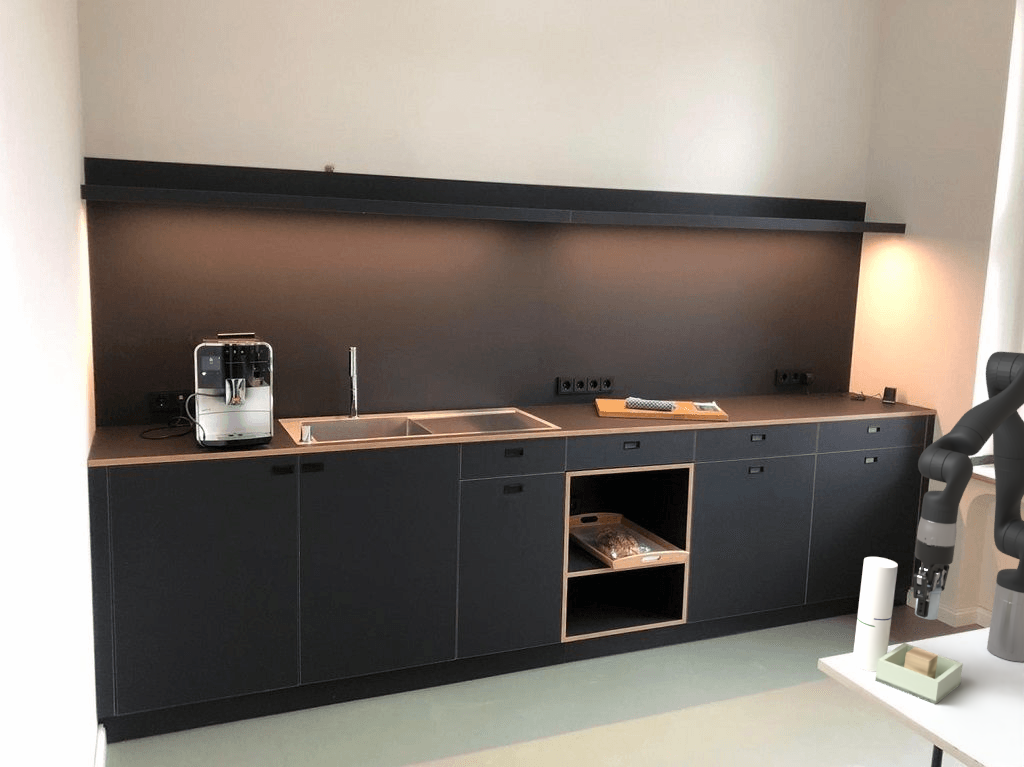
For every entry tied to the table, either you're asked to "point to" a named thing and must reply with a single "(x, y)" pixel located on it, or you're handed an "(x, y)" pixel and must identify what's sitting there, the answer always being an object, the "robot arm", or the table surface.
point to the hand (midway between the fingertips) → (926, 612)
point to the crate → (918, 675)
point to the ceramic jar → (932, 604)
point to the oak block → (921, 662)
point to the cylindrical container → (874, 612)
